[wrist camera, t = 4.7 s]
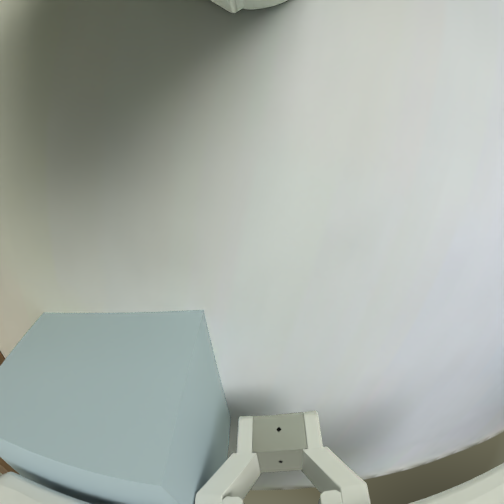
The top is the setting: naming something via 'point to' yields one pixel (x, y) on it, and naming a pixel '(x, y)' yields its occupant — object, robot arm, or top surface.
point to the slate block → (115, 406)
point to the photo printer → (246, 4)
